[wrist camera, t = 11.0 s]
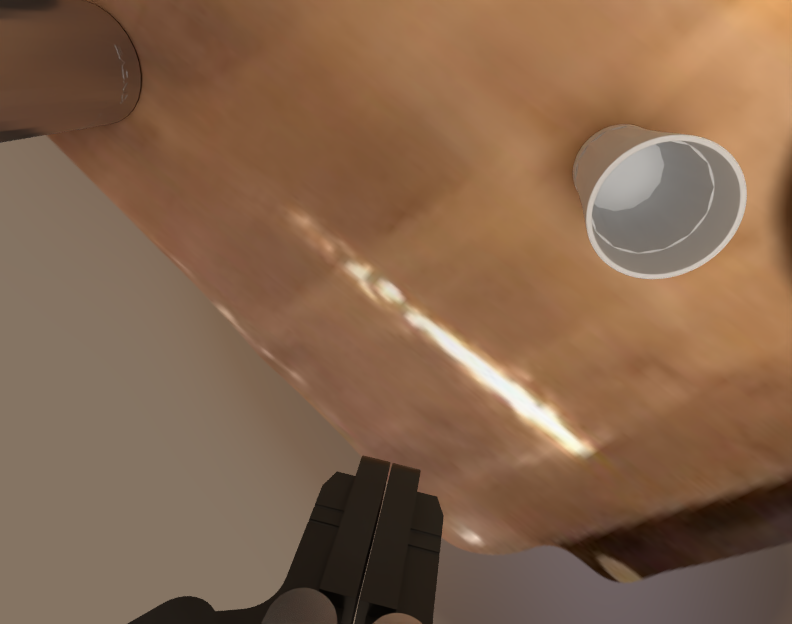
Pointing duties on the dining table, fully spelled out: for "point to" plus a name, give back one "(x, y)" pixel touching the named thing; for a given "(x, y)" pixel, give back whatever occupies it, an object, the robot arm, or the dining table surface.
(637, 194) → the cup
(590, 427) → the dining table surface
